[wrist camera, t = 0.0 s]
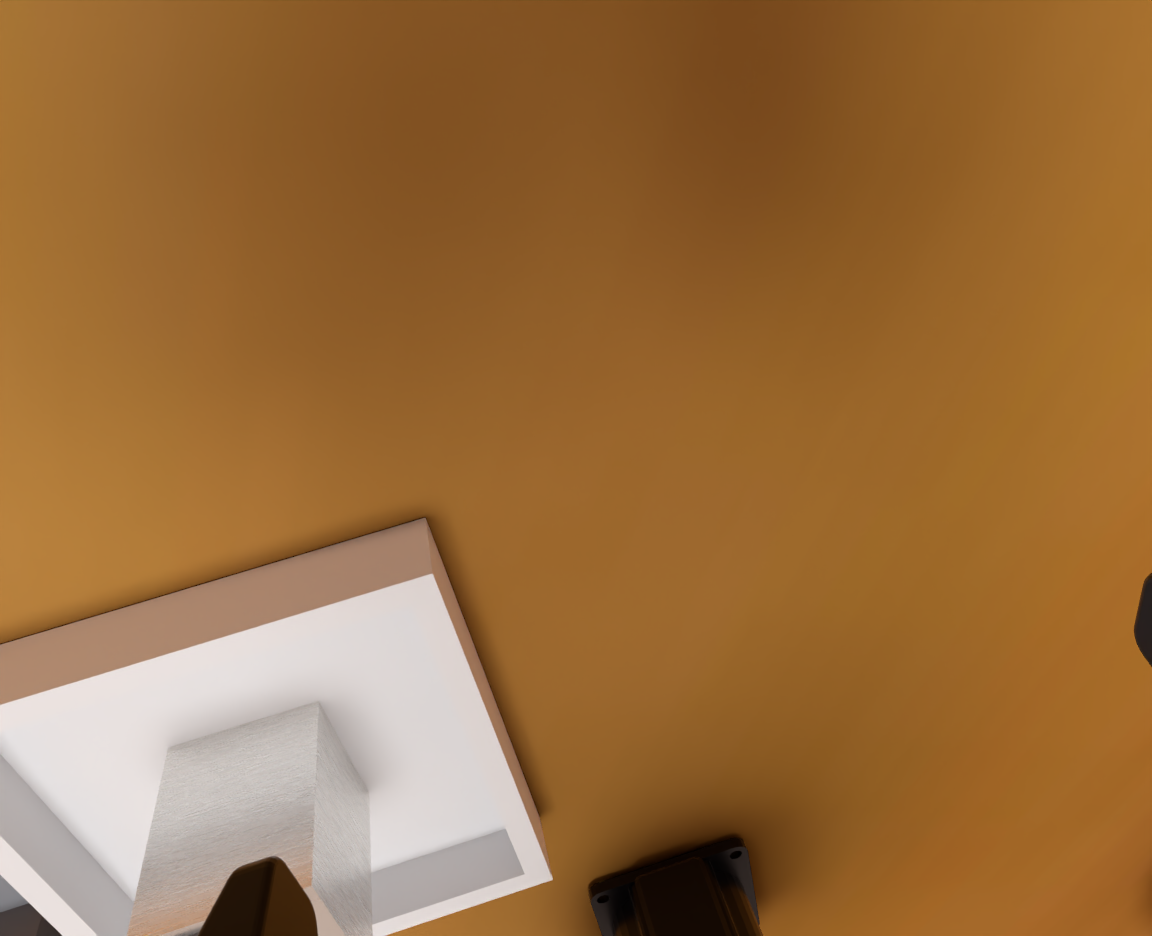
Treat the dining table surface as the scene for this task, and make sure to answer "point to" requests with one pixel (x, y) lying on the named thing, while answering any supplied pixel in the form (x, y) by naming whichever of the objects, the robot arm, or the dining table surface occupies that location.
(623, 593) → the dining table surface
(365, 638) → the white square tray
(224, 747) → the billet loose
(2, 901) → the plate
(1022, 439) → the dining table surface
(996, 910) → the dining table surface
